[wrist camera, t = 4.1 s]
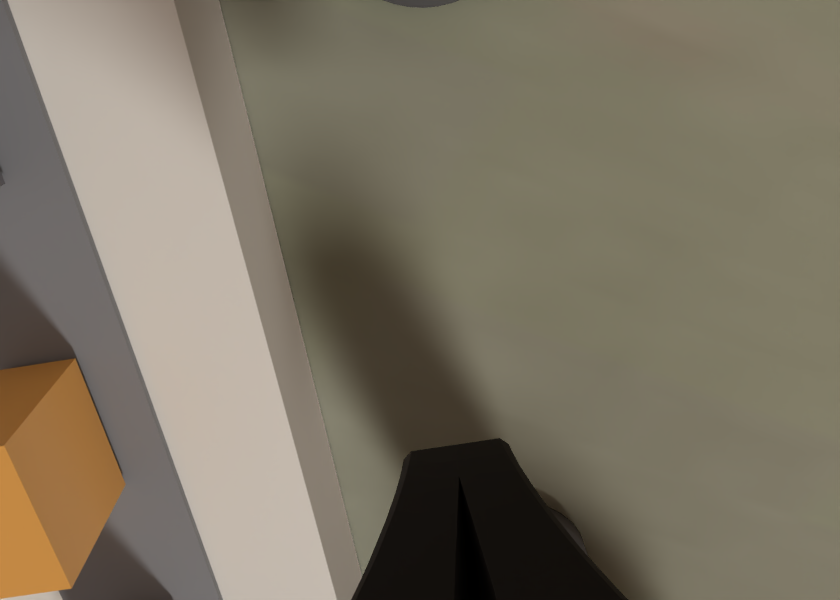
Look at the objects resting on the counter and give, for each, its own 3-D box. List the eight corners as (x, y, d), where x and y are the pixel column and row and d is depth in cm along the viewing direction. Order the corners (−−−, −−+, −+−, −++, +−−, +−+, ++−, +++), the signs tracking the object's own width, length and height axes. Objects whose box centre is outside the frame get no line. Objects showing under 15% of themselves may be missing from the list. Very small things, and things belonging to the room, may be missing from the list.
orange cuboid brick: (55, 494, 14) (-14, 600, 12) (-2, 370, 13) (-89, 459, 11) (125, 483, 14) (71, 588, 12) (75, 358, 13) (3, 445, 11)
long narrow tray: (121, 721, 22) (69, 864, 18) (-359, -271, 12) (-676, -374, 8) (388, 684, 21) (388, 822, 18) (129, -361, 11) (15, -506, 8)
